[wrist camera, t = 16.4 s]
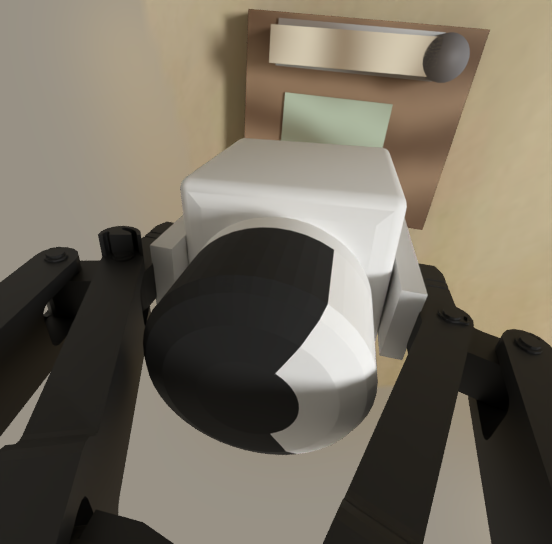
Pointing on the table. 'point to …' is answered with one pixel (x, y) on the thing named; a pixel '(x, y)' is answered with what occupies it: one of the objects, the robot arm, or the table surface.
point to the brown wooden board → (360, 102)
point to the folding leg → (371, 51)
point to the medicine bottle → (279, 294)
